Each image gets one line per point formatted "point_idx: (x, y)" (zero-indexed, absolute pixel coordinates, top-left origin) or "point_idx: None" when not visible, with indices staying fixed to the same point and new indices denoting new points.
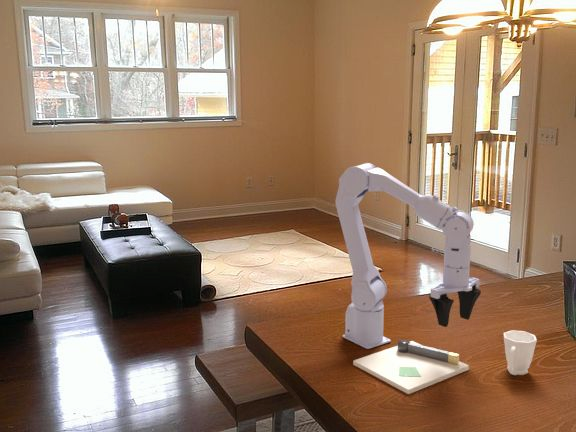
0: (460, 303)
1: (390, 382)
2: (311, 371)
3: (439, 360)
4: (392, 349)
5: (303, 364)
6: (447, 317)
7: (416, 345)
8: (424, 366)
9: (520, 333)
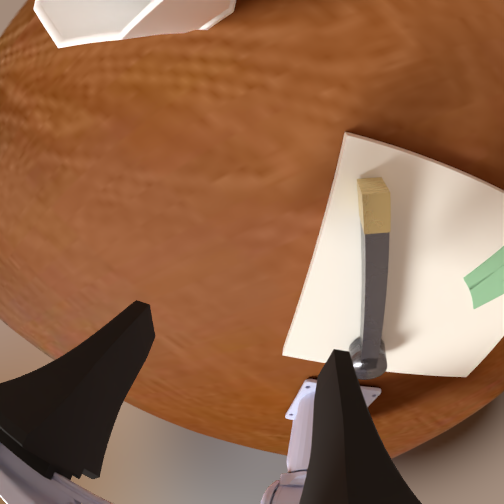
0: (120, 401)
1: None
2: (500, 384)
3: None
4: None
5: (479, 401)
6: (358, 403)
7: (375, 341)
8: (447, 262)
9: (53, 12)
